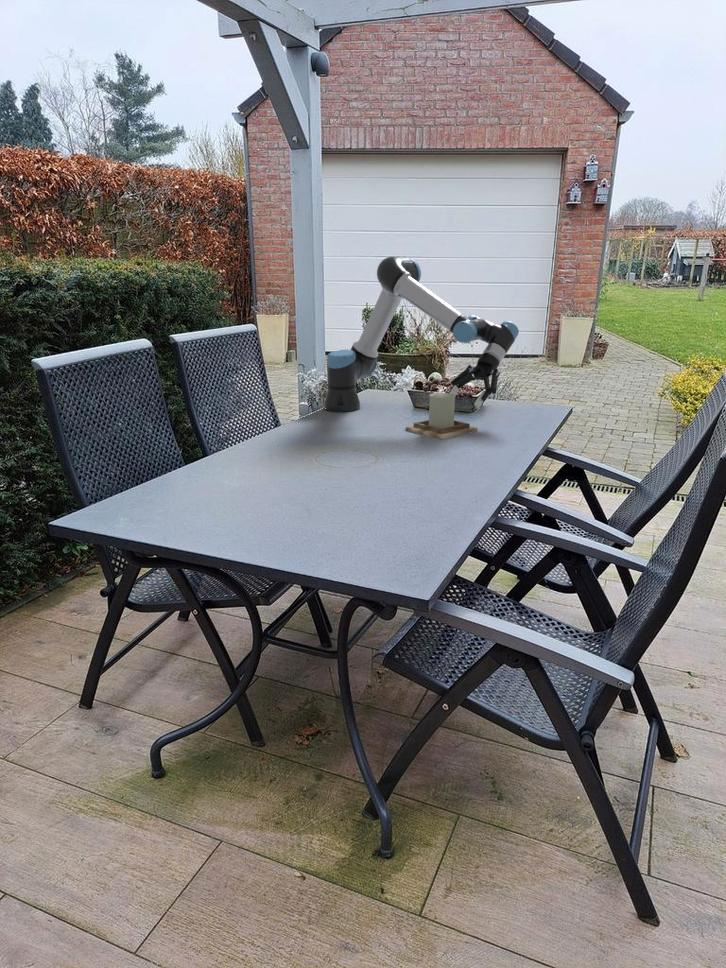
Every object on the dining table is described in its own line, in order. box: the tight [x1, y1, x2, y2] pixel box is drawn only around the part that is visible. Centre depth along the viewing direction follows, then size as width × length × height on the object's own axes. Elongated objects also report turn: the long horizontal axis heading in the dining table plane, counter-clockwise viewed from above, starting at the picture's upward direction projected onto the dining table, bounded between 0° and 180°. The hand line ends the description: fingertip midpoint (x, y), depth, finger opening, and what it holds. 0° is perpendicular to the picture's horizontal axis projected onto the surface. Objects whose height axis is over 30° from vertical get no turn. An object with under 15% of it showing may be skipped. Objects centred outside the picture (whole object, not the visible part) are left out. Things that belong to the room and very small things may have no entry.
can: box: [428, 392, 456, 429], centre depth 226 cm, size 9×9×12 cm
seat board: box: [405, 419, 478, 440], centre depth 227 cm, size 18×18×3 cm
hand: (461, 404), depth 231 cm, fingers open, 13 cm apart
